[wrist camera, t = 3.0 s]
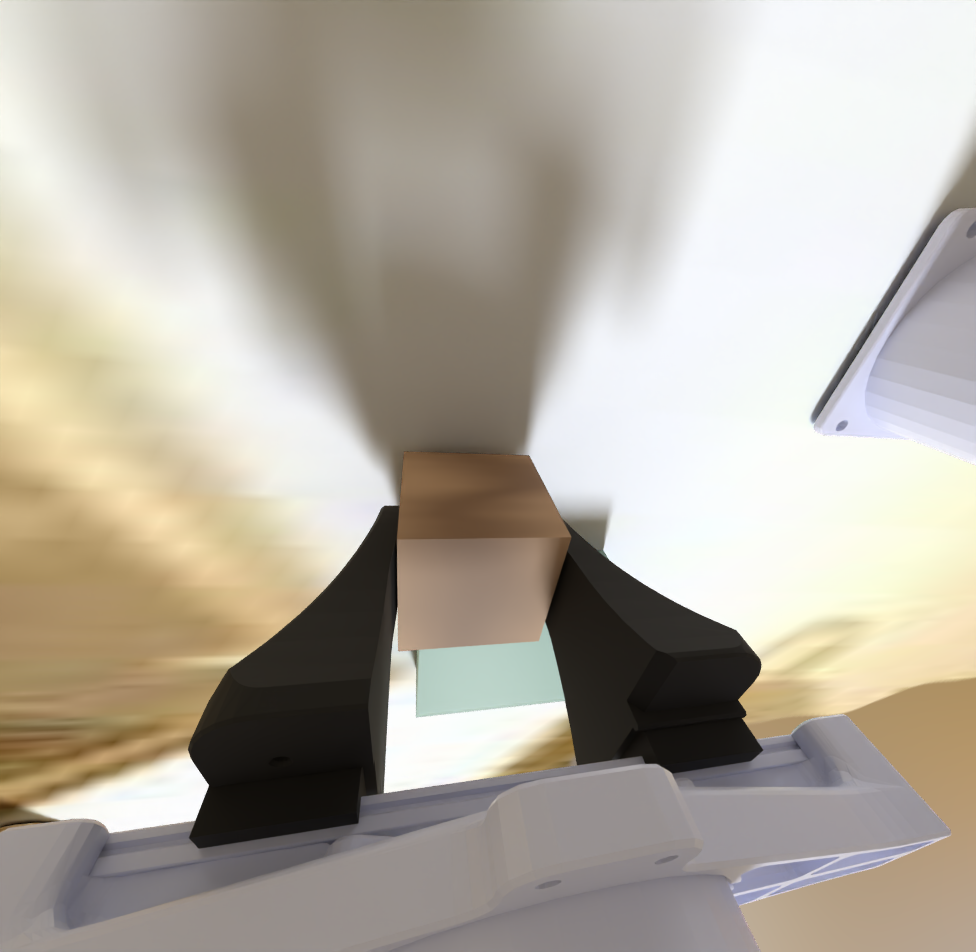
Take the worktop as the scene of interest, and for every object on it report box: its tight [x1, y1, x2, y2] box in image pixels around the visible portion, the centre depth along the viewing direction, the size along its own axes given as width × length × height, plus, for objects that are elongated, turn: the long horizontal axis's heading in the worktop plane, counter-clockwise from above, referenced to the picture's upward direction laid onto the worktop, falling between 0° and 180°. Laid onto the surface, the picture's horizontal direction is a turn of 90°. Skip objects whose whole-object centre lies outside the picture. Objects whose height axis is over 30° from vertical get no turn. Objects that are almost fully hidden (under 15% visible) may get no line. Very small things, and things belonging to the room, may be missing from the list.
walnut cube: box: [397, 451, 571, 651], centre depth 12 cm, size 4×4×4 cm
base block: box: [416, 550, 609, 717], centre depth 19 cm, size 9×9×3 cm
